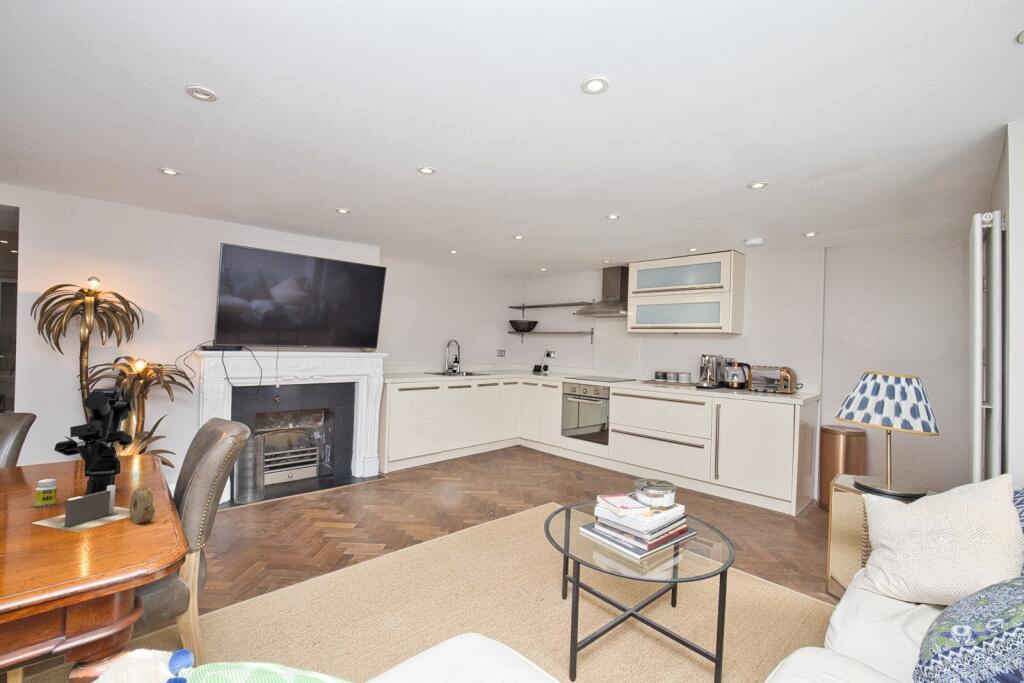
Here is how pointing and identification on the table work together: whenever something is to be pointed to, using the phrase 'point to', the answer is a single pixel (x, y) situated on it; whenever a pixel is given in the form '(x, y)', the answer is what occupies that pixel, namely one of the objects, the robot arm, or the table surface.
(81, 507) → the grey upright slab
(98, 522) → the cream square board
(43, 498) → the supplement bottle
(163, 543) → the table surface
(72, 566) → the table surface
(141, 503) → the stone disc
